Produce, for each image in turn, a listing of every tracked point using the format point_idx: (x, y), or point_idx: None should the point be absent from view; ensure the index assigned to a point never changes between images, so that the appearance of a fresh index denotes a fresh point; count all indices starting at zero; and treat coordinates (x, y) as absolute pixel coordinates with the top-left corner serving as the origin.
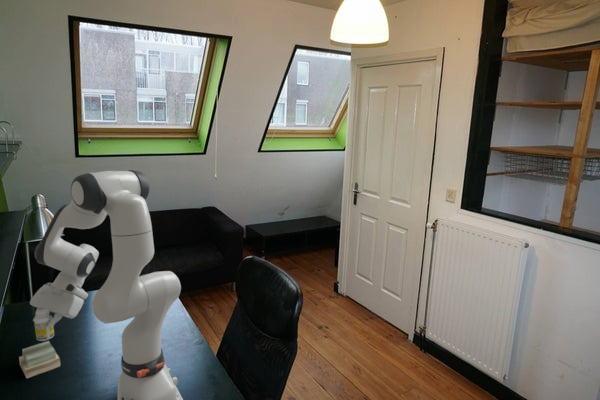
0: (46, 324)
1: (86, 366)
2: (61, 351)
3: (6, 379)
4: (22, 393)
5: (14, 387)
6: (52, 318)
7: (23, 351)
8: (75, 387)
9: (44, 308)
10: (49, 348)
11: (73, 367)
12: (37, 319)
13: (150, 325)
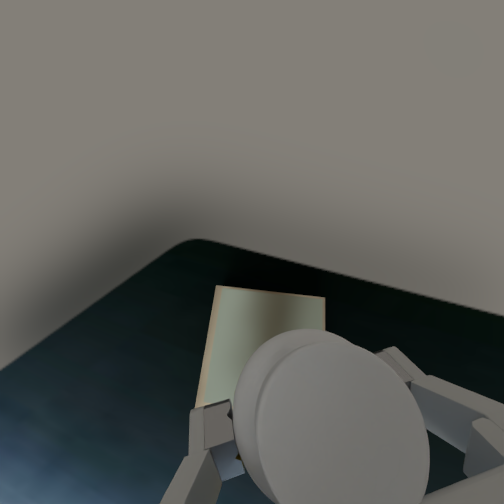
0: (226, 402)
1: (111, 490)
2: None
3: (260, 255)
4: (155, 263)
5: (202, 257)
6: (272, 499)
7: (298, 297)
8: (32, 387)
9: (430, 497)
10: None
11: (151, 441)
12: (297, 347)
13: None
